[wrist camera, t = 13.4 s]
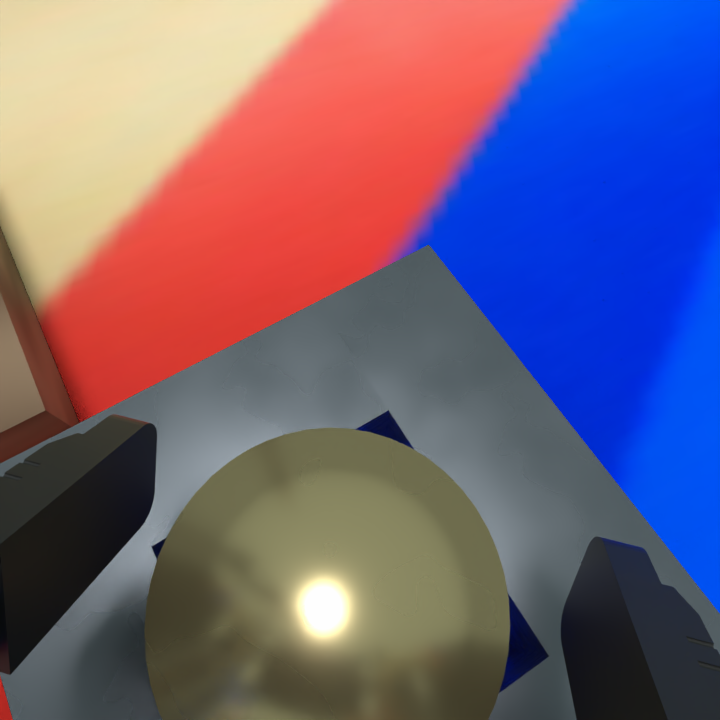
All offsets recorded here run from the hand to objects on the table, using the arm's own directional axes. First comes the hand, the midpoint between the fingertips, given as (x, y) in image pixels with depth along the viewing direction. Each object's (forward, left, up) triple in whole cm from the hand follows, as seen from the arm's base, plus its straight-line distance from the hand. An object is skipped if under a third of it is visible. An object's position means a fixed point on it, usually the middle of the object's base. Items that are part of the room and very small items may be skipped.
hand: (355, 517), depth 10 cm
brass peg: (+1, -1, -8) cm, 8 cm away
